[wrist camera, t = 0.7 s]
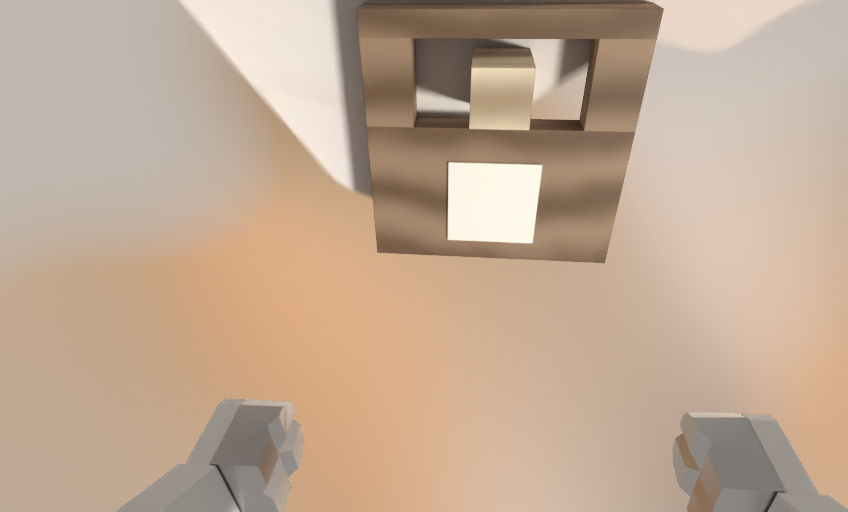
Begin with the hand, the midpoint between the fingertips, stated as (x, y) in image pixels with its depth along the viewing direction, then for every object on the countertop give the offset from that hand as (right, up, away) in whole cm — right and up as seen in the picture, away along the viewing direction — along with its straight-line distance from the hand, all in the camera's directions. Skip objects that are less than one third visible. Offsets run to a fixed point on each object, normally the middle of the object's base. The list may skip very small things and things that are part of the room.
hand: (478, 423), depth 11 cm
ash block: (+5, +18, +31) cm, 36 cm away
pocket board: (+5, +14, +34) cm, 37 cm away
